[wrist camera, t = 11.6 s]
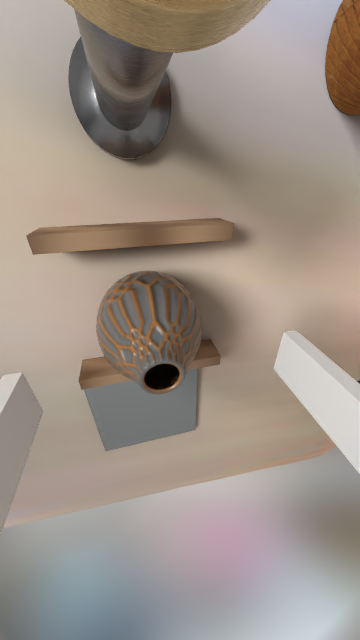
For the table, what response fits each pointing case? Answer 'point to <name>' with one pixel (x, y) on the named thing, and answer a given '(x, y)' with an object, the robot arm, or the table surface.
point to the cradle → (123, 237)
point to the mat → (142, 412)
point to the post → (119, 92)
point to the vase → (149, 330)
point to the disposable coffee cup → (345, 58)
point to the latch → (170, 21)
